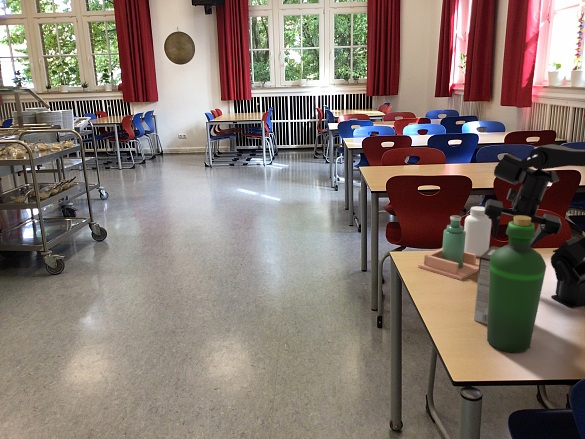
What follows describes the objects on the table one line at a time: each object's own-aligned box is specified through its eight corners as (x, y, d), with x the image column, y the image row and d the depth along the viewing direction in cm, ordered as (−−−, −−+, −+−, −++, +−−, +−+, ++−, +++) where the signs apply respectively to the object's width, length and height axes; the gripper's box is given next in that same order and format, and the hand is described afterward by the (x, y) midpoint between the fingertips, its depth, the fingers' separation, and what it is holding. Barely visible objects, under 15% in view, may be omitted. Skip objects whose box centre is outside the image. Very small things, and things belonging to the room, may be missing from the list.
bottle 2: (524, 332, 109) (540, 210, 102) (543, 358, 99) (562, 225, 91) (475, 330, 110) (487, 210, 103) (489, 356, 100) (502, 224, 92)
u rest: (484, 267, 147) (486, 255, 146) (461, 280, 138) (462, 267, 137) (442, 255, 157) (443, 244, 156) (418, 267, 148) (418, 255, 147)
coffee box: (485, 306, 122) (492, 245, 117) (513, 314, 118) (520, 250, 113) (472, 320, 115) (478, 255, 110) (500, 328, 111) (508, 262, 107)
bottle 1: (465, 269, 144) (469, 219, 139) (443, 268, 144) (447, 219, 140) (460, 261, 149) (464, 214, 145) (439, 261, 150) (442, 213, 146)
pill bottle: (492, 257, 155) (496, 211, 151) (466, 257, 155) (470, 211, 151) (483, 248, 163) (487, 205, 158) (458, 249, 163) (462, 205, 159)
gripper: (566, 190, 131) (544, 241, 138) (494, 173, 136) (477, 222, 143) (571, 205, 122) (548, 258, 129) (494, 186, 126) (475, 238, 134)
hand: (511, 243), depth 134 cm, fingers open, 9 cm apart
